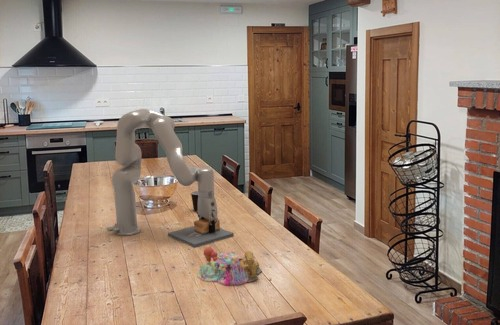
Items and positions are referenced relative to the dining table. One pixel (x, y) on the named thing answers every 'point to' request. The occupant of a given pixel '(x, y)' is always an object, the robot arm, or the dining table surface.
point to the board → (199, 236)
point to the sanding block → (204, 226)
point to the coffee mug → (195, 200)
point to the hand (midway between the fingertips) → (207, 230)
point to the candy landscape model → (228, 268)
